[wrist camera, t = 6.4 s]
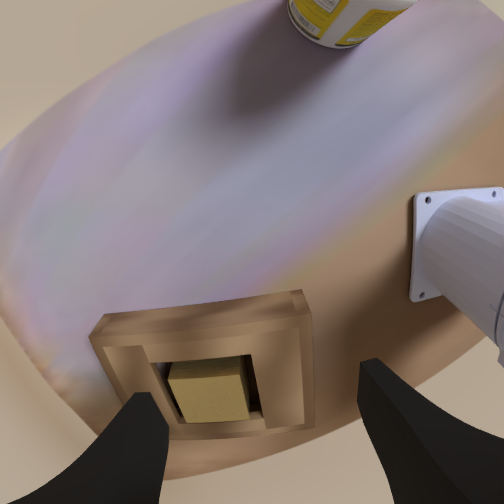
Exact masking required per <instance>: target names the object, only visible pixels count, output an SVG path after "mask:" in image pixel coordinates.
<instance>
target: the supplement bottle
mask: <svg viewBox="0 0 504 504" xmlns="http://www.w3.org/2000/svg"><path fill="white" fill-rule="evenodd" d="M417 1H418V0H288V3H287V8H288V14H289V17H290V19H291V21H292V23H293V24H294V26H295V27H296V28H297V29H298V30H299V31H300V32H301V33H302V34H303V35H304V36H305V37H307V38H308V39H310V40H312V41H313V42H315V43H318V44H320V45H323V46H326V47H331V48H350V47H353V46H356V45H358V44H360V43H362V42H363V41H365V40H366V39H367V38H369V37H370V36H371V35H373V34H374V33H375V32H376V31H378V30H379V29H380V28H382V27H383V26H384V25H386V24H387V23H388V22H390V21H391V20H392V19H394V18H395V17H397V16H398V15H399V14H401V13H402V12H404V11H405V10H407V9H408V8H409V7H411V6H412V5H413V4H415V3H416V2H417Z"/></svg>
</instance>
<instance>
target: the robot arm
mask: <svg viewBox="0 0 504 504" xmlns="http://www.w3.org/2000/svg"><path fill="white" fill-rule="evenodd" d="M492 193H493V195H492ZM426 197H428V201H427V203H425V199H426ZM422 292H423V293H422ZM421 293H422V295H420V294H421ZM441 295H444V296H445V297H446V298H447V299H448V300H449V301H450V302H451V303H453V304H454V305H455V306H456V307H457V308H458V309H459V310H460V311H461V312H462V313H464V314H465V315H466V316H467V317H468V318H469V319H470V320H471V321H472V322H473V323H474V324H475V325H476V326H477V327H478V328H479V329H480V330H482V331H483V332H484V333H485V334H486V335H487V336H488V337H489V338H490V339H491V340H492V341H493V342H494V343H495V344H496V345H497V346H498V347H499V349H500V354H499V358H498V362H499V363H500V364H501V365H502V366H503V368H504V189H503V188H502V187H484V188H469V189H456V190H443V191H431V192H420V193H417V194H416V195H415V197H414V222H413V253H412V269H411V282H410V293H409V298H410V300H411V301H412V302H419V301H423V300H427V299H430V298H434V297H438V296H441ZM357 403H358V406H359V410H360V413H361V416H362V419H363V423H364V426H365V428H366V430H367V433H368V435H369V437H370V439H371V441H372V444H373V446H374V448H375V450H376V453H377V455H378V457H379V459H380V462H381V464H382V466H383V469H384V471H385V474H386V476H387V479H388V482H389V485H390V489H391V492H392V496H393V500H394V504H504V439H503V438H500V437H497V436H495V435H492V434H489V433H487V432H484V431H482V430H479V429H477V428H475V427H473V426H471V425H468V424H467V423H464V422H463V421H461V420H459V419H457V418H455V417H453V416H452V415H450V414H449V413H447V412H446V411H444V410H442V409H441V408H439V407H438V406H436V405H435V404H433V403H432V402H430V401H429V400H428V399H427V398H425V397H424V396H422V395H421V394H420V393H419V392H417V391H416V390H415V389H413V388H412V387H411V386H410V385H408V384H407V383H406V382H405V381H404V380H402V379H401V378H400V377H399V376H398V375H396V374H395V373H394V372H393V371H392V370H391V369H390V368H388V367H387V366H386V365H385V364H384V363H383V362H382V361H380V360H379V359H378V358H374V359H371V360H367V361H363V362H360V372H359V384H358V395H357ZM168 445H169V425H168V423H167V422H166V420H165V418H164V416H163V415H162V413H161V411H160V409H159V407H158V406H157V404H156V402H155V400H154V398H153V396H152V394H151V393H150V392H135V393H134V394H133V395H132V396H131V398H130V399H129V400H128V401H127V402H126V404H125V405H124V406H123V407H122V409H121V410H120V411H119V412H118V414H117V415H116V416H115V417H114V419H113V420H112V421H111V422H110V423H109V425H108V426H107V427H106V428H105V429H104V431H103V432H102V433H101V434H100V435H99V436H98V438H97V439H96V440H95V441H94V442H93V443H92V444H91V445H90V446H89V447H88V448H87V450H86V451H85V452H84V453H83V454H82V455H81V456H80V457H79V458H78V459H77V460H76V461H74V462H73V463H72V464H71V465H70V466H69V467H67V468H66V469H65V470H64V471H63V472H61V473H60V474H59V475H57V476H56V477H55V478H53V479H52V480H50V481H49V482H48V483H46V484H45V485H43V486H42V487H40V488H38V489H37V490H35V491H34V492H32V493H30V494H28V495H26V496H24V497H22V498H20V499H18V500H15V501H13V502H10V503H8V504H159V497H160V491H161V486H162V481H163V476H164V470H165V465H166V460H167V454H168Z"/></svg>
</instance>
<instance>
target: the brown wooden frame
mask: <svg viewBox="0 0 504 504" xmlns="http://www.w3.org/2000/svg"><path fill="white" fill-rule="evenodd" d="M88 338H89V340H90V342H91V344H92V346H93V349H94V351H95V353H96V355H97V357H98V359H99V361H100V363H101V365H102V367H103V369H104V371H105V373H106V374H107V376H108V378H109V380H110V382H111V384H112V386H113V387H114V389H115V391H116V393H117V394H118V396H119V398H120V400H121V401H122V403H123V405H125V404H126V402H127V401H128V400H129V399H130V398H131V396H132V395H133V394H134V393H135V392H150V393H151V394H152V396H153V398H154V400H155V402H156V404H157V406H158V407H159V409H160V411H161V413H162V415H163V416H164V418H165V420H166V422H167V423H168V425H169V440H207V439H226V438H240V437H251V436H260V435H268V434H276V433H283V432H290V431H296V430H302V429H308V428H313V427H315V395H314V358H313V335H312V315H311V311H310V309H309V306H308V304H307V301H306V299H305V296H304V294H303V291H302V289H301V290H295V291H289V292H282V293H276V294H269V295H262V296H255V297H248V298H241V299H234V300H227V301H219V302H211V303H204V304H195V305H187V306H179V307H170V308H161V309H152V310H142V311H132V312H122V313H111V314H104V315H103V317H102V318H101V320H100V321H99V322H98V324H97V325H96V327H95V328H94V330H93V331H92V333H91V334H90V336H89V337H88ZM246 354H251V357H252V362H253V367H254V372H255V377H256V382H257V387H258V392H259V397H260V403H251V404H249V406H250V419H248V420H237V421H224V422H204V423H187V422H186V420H185V418H184V416H183V414H182V411H181V409H176V408H175V406H174V403H173V401H172V399H171V397H170V395H169V393H168V390H167V388H166V386H165V384H164V382H163V379H162V377H161V375H160V372H159V370H158V368H157V365H156V363H157V362H174V361H188V360H200V359H211V358H221V357H230V356H238V355H246Z"/></svg>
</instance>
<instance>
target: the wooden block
mask: <svg viewBox="0 0 504 504" xmlns="http://www.w3.org/2000/svg"><path fill="white" fill-rule="evenodd" d="M168 382H169V384H170V386H171V389H172V391H173V393H174V396H175V398H176V400H177V403H178V405H179V407H180V409H181V411H182V414H183V416H184V418H185V420H186V422H187V423H204V422H224V421H237V420H248V419H250V406H249V382H248V377H247V372H246V367H245V362H244V357H243V355H238V356H230V357H221V358H211V359H200V360H188V361H174V362H172V366H171V369H170V373H169V377H168Z"/></svg>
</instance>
